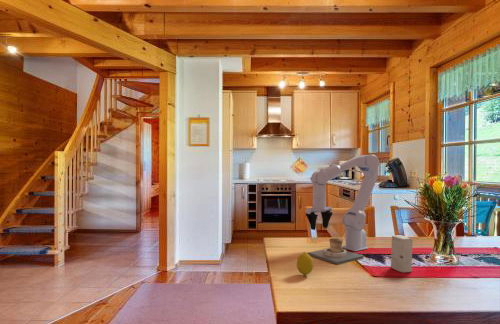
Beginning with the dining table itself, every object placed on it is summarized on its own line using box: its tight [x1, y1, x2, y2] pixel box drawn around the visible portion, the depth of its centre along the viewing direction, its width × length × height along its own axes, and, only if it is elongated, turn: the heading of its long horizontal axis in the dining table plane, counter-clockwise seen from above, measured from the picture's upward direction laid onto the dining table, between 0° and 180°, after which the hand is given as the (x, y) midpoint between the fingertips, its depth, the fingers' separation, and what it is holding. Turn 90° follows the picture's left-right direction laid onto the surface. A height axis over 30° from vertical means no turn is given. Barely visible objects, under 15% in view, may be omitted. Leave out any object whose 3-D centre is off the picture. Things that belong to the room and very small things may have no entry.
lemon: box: [296, 252, 314, 277], centre depth 109 cm, size 6×6×8 cm
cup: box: [328, 237, 344, 253], centre depth 132 cm, size 5×5×6 cm
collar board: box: [307, 247, 365, 265], centre depth 132 cm, size 16×16×2 cm
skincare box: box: [390, 234, 413, 273], centre depth 116 cm, size 6×4×12 cm
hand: (319, 228), depth 141 cm, fingers open, 7 cm apart
